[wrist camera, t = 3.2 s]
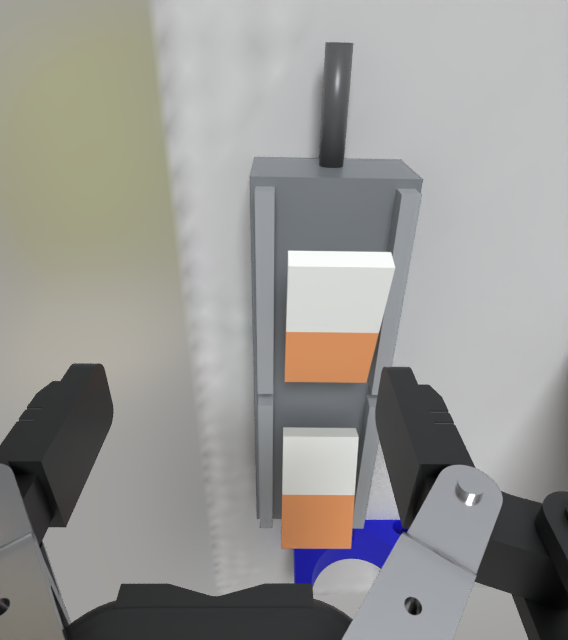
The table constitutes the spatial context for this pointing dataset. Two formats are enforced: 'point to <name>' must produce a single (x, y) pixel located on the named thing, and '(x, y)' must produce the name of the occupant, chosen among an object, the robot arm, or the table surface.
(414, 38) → the table surface
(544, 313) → the table surface
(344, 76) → the box
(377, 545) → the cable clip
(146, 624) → the robot arm
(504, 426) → the table surface
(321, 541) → the block
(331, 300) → the rocker
